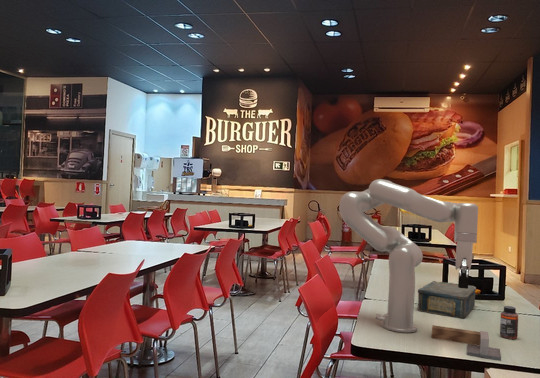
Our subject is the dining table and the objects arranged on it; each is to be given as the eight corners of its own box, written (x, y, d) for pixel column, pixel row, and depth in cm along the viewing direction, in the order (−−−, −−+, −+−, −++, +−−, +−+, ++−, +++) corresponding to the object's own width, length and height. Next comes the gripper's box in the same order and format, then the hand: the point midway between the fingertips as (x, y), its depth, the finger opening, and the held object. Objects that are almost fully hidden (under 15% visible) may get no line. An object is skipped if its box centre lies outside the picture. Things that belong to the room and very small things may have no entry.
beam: (431, 338, 175) (432, 327, 175) (431, 336, 179) (432, 325, 179) (486, 347, 169) (486, 335, 169) (485, 344, 173) (486, 332, 173)
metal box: (415, 311, 217) (416, 289, 217) (431, 299, 245) (432, 279, 245) (466, 320, 206) (467, 296, 206) (476, 306, 234) (478, 286, 234)
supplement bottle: (512, 335, 185) (513, 305, 185) (520, 340, 179) (522, 309, 179) (496, 334, 185) (498, 304, 185) (504, 339, 179) (506, 308, 179)
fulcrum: (466, 354, 158) (467, 336, 158) (467, 346, 167) (468, 329, 167) (501, 360, 154) (502, 341, 154) (499, 351, 163) (500, 333, 163)
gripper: (454, 235, 184) (452, 281, 184) (453, 238, 168) (451, 288, 167) (476, 237, 181) (474, 283, 181) (477, 240, 165) (474, 291, 165)
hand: (463, 285), depth 174 cm, fingers open, 9 cm apart
